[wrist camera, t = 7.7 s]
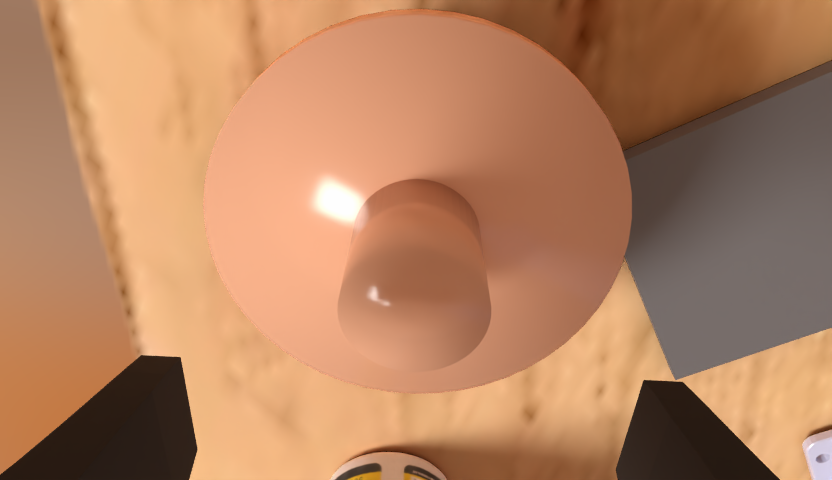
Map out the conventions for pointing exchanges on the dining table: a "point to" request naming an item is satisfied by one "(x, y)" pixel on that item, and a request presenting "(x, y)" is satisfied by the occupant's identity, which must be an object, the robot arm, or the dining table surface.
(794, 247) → the mat
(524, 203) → the lid
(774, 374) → the dining table surface
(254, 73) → the dining table surface
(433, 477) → the supplement bottle
